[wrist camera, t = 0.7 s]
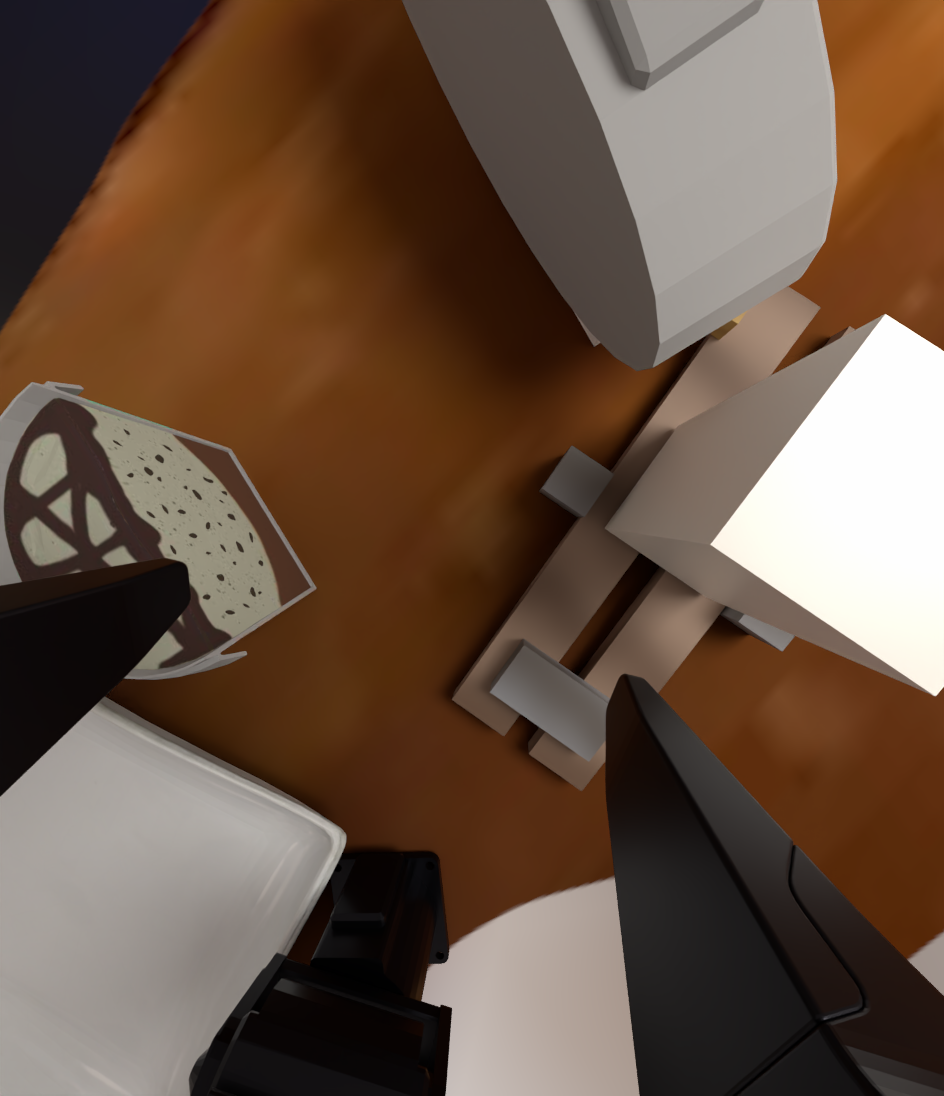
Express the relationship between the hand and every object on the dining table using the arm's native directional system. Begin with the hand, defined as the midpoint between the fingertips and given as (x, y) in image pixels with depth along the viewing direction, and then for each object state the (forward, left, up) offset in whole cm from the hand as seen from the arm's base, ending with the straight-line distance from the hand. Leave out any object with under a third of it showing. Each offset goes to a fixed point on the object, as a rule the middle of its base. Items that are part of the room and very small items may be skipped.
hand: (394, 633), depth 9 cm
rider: (+1, -11, -14) cm, 18 cm away
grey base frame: (0, -10, -16) cm, 19 cm away
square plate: (-18, +26, -16) cm, 36 cm away
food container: (+2, +14, -16) cm, 21 cm away
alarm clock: (+19, -6, -16) cm, 25 cm away
